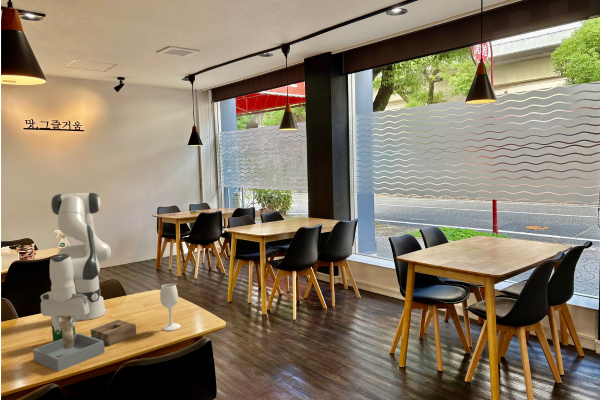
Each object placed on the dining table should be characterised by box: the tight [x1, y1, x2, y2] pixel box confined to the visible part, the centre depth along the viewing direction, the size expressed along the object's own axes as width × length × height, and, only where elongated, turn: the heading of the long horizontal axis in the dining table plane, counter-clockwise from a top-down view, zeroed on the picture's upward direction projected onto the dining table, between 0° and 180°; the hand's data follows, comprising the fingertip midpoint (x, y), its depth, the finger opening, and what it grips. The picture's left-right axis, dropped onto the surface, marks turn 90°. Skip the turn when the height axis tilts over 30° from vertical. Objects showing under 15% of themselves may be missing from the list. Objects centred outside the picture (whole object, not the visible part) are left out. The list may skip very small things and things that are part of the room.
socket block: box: [90, 319, 137, 346], centre depth 206 cm, size 14×14×5 cm
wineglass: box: [159, 283, 182, 332], centre depth 214 cm, size 9×9×21 cm
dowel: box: [61, 316, 74, 349], centre depth 186 cm, size 4×4×14 cm
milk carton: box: [50, 316, 77, 342], centre depth 203 cm, size 9×9×20 cm
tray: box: [32, 332, 105, 372], centre depth 187 cm, size 20×20×5 cm
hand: (66, 325), depth 186 cm, fingers closed on dowel, 4 cm apart
